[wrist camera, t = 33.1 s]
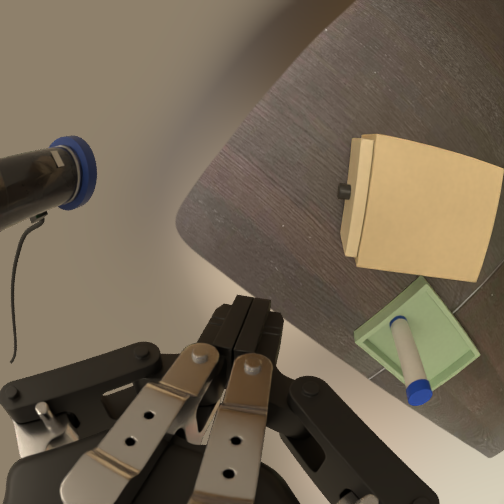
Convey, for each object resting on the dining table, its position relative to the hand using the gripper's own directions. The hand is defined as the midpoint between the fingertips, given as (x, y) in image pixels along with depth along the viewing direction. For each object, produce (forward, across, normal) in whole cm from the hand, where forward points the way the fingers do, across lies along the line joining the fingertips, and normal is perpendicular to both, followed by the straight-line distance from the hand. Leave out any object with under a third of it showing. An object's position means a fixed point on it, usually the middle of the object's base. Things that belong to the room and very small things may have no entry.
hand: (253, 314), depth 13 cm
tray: (+23, -22, +18) cm, 37 cm away
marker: (+22, -17, +15) cm, 32 cm away
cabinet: (+23, -14, -3) cm, 27 cm away
